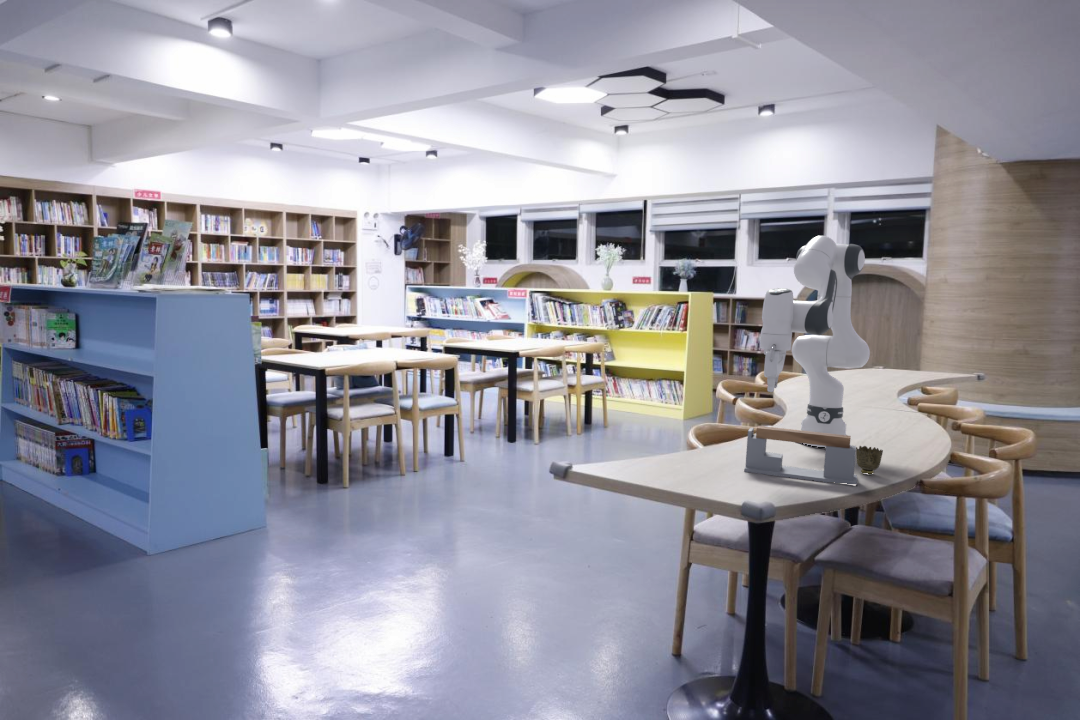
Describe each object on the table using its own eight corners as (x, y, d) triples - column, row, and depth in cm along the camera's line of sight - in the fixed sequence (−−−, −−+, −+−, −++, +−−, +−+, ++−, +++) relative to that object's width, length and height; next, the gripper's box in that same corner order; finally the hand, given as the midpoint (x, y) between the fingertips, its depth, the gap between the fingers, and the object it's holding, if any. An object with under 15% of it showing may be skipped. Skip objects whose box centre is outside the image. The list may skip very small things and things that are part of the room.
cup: (872, 478, 218) (874, 452, 217) (848, 473, 224) (851, 447, 223) (885, 475, 222) (887, 449, 222) (862, 470, 228) (864, 444, 227)
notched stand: (748, 464, 230) (751, 426, 228) (856, 478, 218) (860, 438, 217) (744, 471, 220) (747, 432, 219) (856, 486, 209) (860, 444, 207)
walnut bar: (754, 434, 225) (768, 401, 223) (837, 470, 217) (853, 437, 214) (752, 436, 222) (767, 403, 219) (837, 473, 213) (853, 439, 211)
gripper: (783, 346, 208) (780, 395, 209) (789, 342, 227) (786, 386, 228) (760, 345, 210) (757, 393, 212) (768, 340, 229) (764, 384, 231)
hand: (772, 389), depth 220 cm, fingers open, 8 cm apart
